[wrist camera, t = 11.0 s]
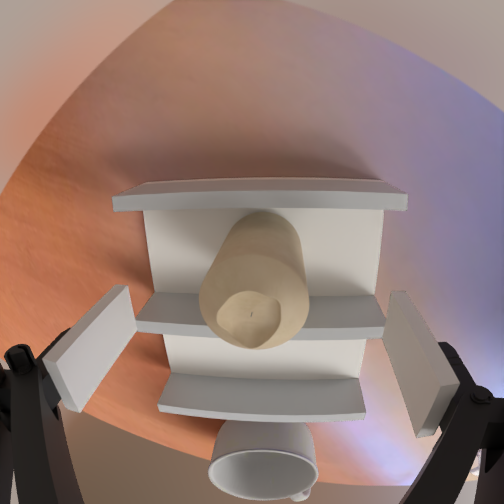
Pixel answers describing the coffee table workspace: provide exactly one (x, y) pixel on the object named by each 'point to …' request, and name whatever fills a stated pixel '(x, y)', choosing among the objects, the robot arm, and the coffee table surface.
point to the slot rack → (318, 282)
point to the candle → (257, 284)
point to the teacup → (264, 460)
